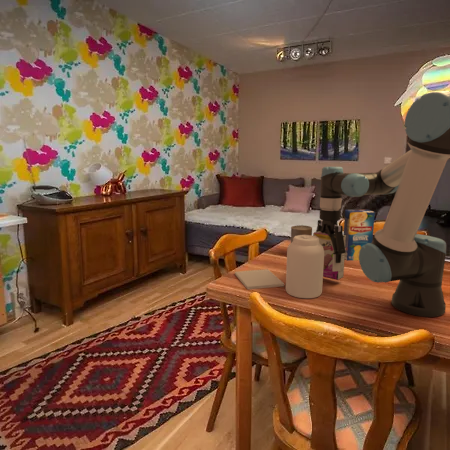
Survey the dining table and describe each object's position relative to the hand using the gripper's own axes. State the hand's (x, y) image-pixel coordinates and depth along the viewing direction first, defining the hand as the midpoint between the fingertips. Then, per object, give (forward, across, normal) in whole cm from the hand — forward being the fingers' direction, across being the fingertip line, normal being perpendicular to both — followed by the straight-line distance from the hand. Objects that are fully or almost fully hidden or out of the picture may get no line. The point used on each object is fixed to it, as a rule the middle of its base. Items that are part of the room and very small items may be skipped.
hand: (327, 266), depth 140 cm
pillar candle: (+5, +34, -5) cm, 34 cm away
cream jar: (+6, -8, +14) cm, 17 cm away
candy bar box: (+4, 0, 0) cm, 4 cm away
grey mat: (+6, +7, +25) cm, 27 cm away
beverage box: (+6, +24, -28) cm, 37 cm away
